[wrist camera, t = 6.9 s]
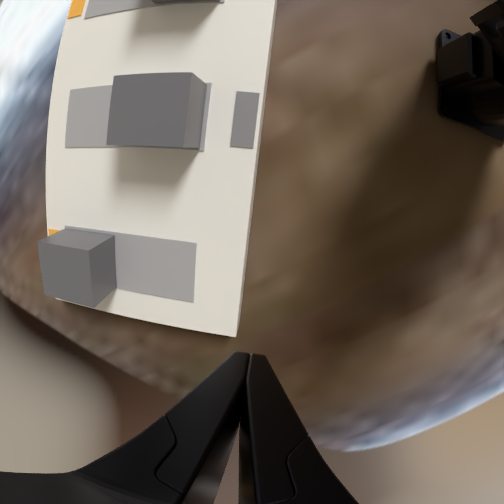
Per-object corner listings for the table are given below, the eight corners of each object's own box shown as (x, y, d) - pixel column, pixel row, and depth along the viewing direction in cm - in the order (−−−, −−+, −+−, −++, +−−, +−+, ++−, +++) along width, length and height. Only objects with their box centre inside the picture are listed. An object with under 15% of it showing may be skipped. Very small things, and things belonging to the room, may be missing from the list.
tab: (114, 235, 18) (88, 250, 15) (116, 287, 19) (94, 308, 16) (65, 228, 18) (37, 241, 15) (69, 276, 19) (44, 294, 16)
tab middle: (207, 84, 15) (191, 72, 12) (199, 147, 16) (183, 147, 13) (139, 85, 15) (113, 75, 12) (132, 144, 16) (106, 145, 13)
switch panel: (283, -47, 13) (283, -64, 11) (239, 321, 22) (235, 338, 20) (97, -30, 14) (84, -40, 12) (69, 287, 22) (54, 299, 20)
